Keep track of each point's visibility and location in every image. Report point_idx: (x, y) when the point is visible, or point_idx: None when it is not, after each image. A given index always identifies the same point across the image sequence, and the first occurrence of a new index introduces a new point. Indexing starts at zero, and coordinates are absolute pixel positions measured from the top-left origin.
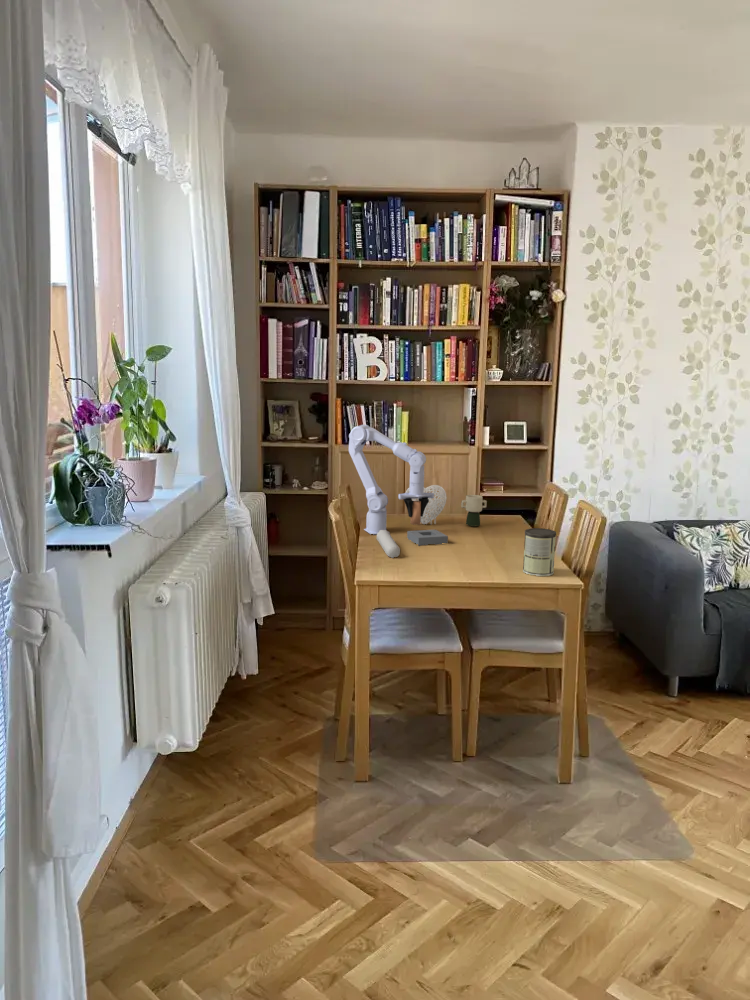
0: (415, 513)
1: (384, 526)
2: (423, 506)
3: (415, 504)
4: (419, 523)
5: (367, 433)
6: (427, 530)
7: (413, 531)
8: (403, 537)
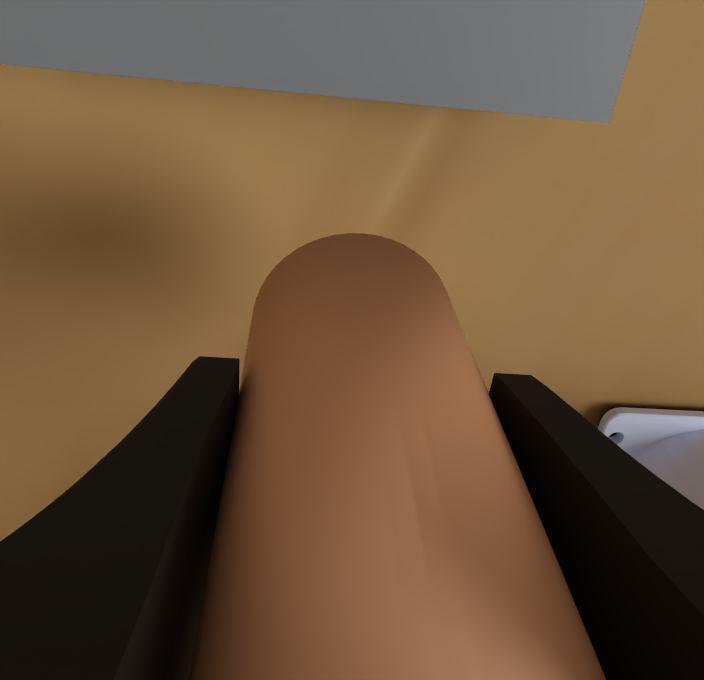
0: (454, 381)
1: (698, 494)
2: (129, 543)
3: (554, 656)
4: (304, 251)
5: None
6: (197, 30)
7: (524, 43)
8: (561, 185)
